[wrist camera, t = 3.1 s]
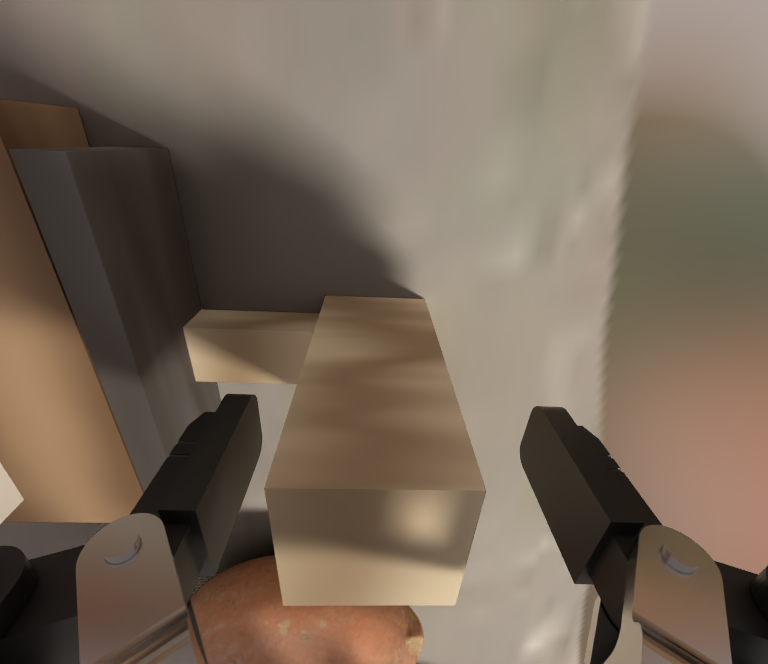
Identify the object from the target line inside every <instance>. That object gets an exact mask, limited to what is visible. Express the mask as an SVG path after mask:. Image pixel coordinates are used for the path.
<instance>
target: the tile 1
mask: <svg viewBox="0 0 768 664" xmlns="http://www.w3.org/2000/svg"><path fill="white" fill-rule="evenodd" d="M23 500H24V499H23V497H22V496H21V494H20V492H19V491H18V489H17V488H16V486H15V485H14V483H13V481H12V480H11V478H10V477H9V475H8V474H7V472H6V471H5V469H4V467H3V466H2V464H1V463H0V524H1V523H2V522H3V521H4V520H5V519H6V518H7V517H8V516H9V515H10V514H11V513H12V512H13V511H14V510H15V509H16V508H17V506H18V505H19V504H20V503H21V502H22V501H23Z"/></svg>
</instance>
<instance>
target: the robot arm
mask: <svg viewBox="0 0 768 664" xmlns="http://www.w3.org/2000/svg"><path fill="white" fill-rule="evenodd" d="M261 446H262V431H261V424H260V416H259V409H258V402H257V397H256V396H255V395H247V394H227V395H225V397H224V398H223V400H222V401H221V403H220V405H219V406H218V408H217V410H216V412H204V413H203V414H201V415H200V416H199V417H198V418H196V419H195V420H194V421H193V422H191V423H190V424H189V425H188V426H187V428H186V429H185V431H184V432H183V434H182V435H181V437H180V439H179V440H178V444H176V445H175V446H174V448H173V449H172V451H171V452H170V456H169V457H167V458H166V460H165V461H164V463H163V464H162V466H161V467H160V469H159V471H158V472H157V474H156V475H155V477H154V478H153V480H152V481H151V483H150V484H149V486H148V487H147V489H146V490H145V492H144V493H143V495H142V496H141V498H140V499H139V501H138V503H137V504H136V506H135V507H134V509H133V510H132V511H131V513H130V514H129V515H127V516H124V517H122V518H119V519H117V520H115V521H113V522H111V523H110V524H108V525H107V526H105V527H103V528H102V529H101V530H100V531H98V532H97V533H96V534H95V535H94V536H93V537H92V538H91V539H90V540H89V541H88V542H87V544H86V545H82V546H79V547H76V548H72V549H69V550H65V551H61V552H57V553H54V554H50V555H46V556H42V557H39V558H35V559H31V560H28V559H27V558H26V556H25V555H24V554H23V552H22V551H21V550H20V549H18V548H16V547H12V546H0V664H209V661H208V657H207V654H206V650H205V647H204V643H203V639H202V636H201V632H200V629H199V625H198V622H197V618H196V614H195V611H194V607H193V604H192V600H191V594H192V592H193V589H194V587H195V585H196V582H197V580H198V577H215V575H216V573H217V570H218V567H219V565H220V562H221V559H222V556H223V554H224V551H225V548H226V546H227V543H228V540H229V537H230V535H231V532H232V529H233V527H234V524H235V521H236V519H237V516H238V513H239V510H240V508H241V505H242V502H243V500H244V497H245V494H246V491H247V489H248V486H249V483H250V481H251V478H252V475H253V472H254V470H255V467H256V464H257V462H258V459H259V456H260V452H261ZM520 459H521V463H522V466H523V469H524V471H525V473H526V475H527V478H528V480H529V482H530V484H531V487H532V489H533V491H534V493H535V496H536V498H537V500H538V502H539V505H540V507H541V509H542V511H543V514H544V516H545V518H546V520H547V523H548V525H549V527H550V529H551V532H552V534H553V536H554V538H555V541H556V543H557V545H558V547H559V550H560V552H561V554H562V557H563V559H564V561H565V563H566V566H567V568H568V570H569V572H570V575H571V577H572V579H573V581H574V584H594V586H595V588H596V590H597V592H598V595H599V596H598V597H597V599H596V601H595V604H594V610H593V615H592V621H591V626H590V632H589V637H588V643H587V649H586V655H585V660H584V664H768V566H767V567H766V568H765V569H764V570H763V571H762V572H761V573H760V574H759V575H758V574H754V573H751V572H748V571H745V570H741V569H738V568H735V567H732V566H729V565H726V564H723V563H719V562H716V561H714V560H713V559H712V558H711V557H710V555H709V554H708V553H707V552H706V551H705V550H704V549H703V548H702V547H701V546H700V545H698V544H697V543H696V542H695V541H693V540H692V539H691V538H689V537H688V536H686V535H684V534H683V533H681V532H679V531H676V530H674V529H672V528H669V527H666V526H663V525H662V524H661V523H660V521H659V520H658V519H657V517H656V516H655V515H654V513H653V512H652V510H651V509H650V508H649V506H648V505H647V504H646V503H645V501H644V500H643V498H642V497H641V496H640V494H639V493H638V491H637V490H636V489H635V487H634V486H633V485H632V483H631V482H630V481H629V479H628V478H627V477H626V475H625V474H624V473H623V472H621V471H620V467H619V466H618V464H617V463H616V462H615V460H614V459H612V458H611V455H610V453H609V452H608V451H607V450H606V448H605V447H604V445H603V444H602V443H601V441H600V440H599V439H598V438H597V437H595V436H594V435H593V434H592V433H590V432H589V431H588V430H587V429H586V428H584V427H583V426H577V425H576V423H575V422H574V420H573V419H572V418H571V416H570V415H569V413H568V412H567V411H566V409H564V408H563V407H543V406H536V407H534V408H533V410H532V412H531V415H530V418H529V421H528V424H527V427H526V430H525V433H524V436H523V439H522V442H521V445H520Z"/></svg>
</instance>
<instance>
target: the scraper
mask: <svg viewBox="0 0 768 664" xmlns="http://www.w3.org/2000/svg"><path fill="white" fill-rule="evenodd" d="M9 151H10V154H11V157H12V159H13V162H14V164H15V167H16V169H17V172H18V174H19V177H20V179H21V182H22V184H23V187H24V189H25V192H26V194H27V197H28V199H29V202H30V204H31V207H32V210H33V212H34V215H35V217H36V220H37V222H38V225H39V227H40V230H41V232H42V235H43V237H44V240H45V242H46V245H47V247H48V250H49V252H50V255H51V258H52V260H53V263H54V265H55V268H56V270H57V273H58V275H59V278H60V280H61V283H62V285H63V288H64V290H65V293H66V295H67V298H68V300H69V303H70V305H71V308H72V311H73V313H74V316H75V318H76V321H77V323H78V326H79V328H80V331H81V333H82V336H83V338H84V341H85V343H86V346H87V348H88V351H89V353H90V356H91V359H92V361H93V364H94V366H95V369H96V371H97V374H98V376H99V379H100V381H101V384H102V386H103V389H104V391H105V394H106V396H107V399H108V401H109V404H110V406H111V409H112V412H113V414H114V417H115V419H116V422H117V424H118V427H119V429H120V432H121V434H122V437H123V439H124V442H125V444H126V447H127V449H128V452H129V454H130V457H131V460H132V462H133V465H134V467H135V470H136V472H137V475H138V477H139V480H140V482H141V485H142V487H143V490H144V492H145V490H146V489H147V487H148V486H149V484H150V483H151V481H152V480H153V478H154V477H155V475H156V474H157V472H158V471H159V469H160V467H161V466H162V464H163V463H164V461H165V460H166V458H167V457H169V456H170V452H171V451H172V449H173V448H174V446H175V445H176V444H178V440H179V439H180V437H181V435H182V434H183V432H184V431H185V429H186V428H187V426H188V425H189V424H190V423H191V422H193V421H194V420H195V419H196V418H198V417H199V416H200V415H201V414H203V413H204V412H216V410H217V408H218V406H219V405H220V403H221V400H220V395H219V390H218V386H217V382H240V383H280V384H297V387H296V390H295V393H294V396H293V399H292V402H291V406H290V409H289V412H288V415H287V418H286V421H285V424H284V428H283V431H282V434H281V437H280V440H279V443H278V447H277V450H276V453H275V456H274V459H273V462H272V465H271V469H270V472H269V475H268V478H267V481H266V484H265V488H264V489H265V495H266V502H267V508H268V514H269V520H270V526H271V533H272V539H273V545H274V551H275V558H276V564H277V570H278V576H279V582H280V589H281V595H282V601H283V606H376V605H455V604H456V601H457V597H458V593H459V589H460V586H461V582H462V578H463V575H464V571H465V567H466V564H467V560H468V556H469V553H470V549H471V545H472V541H473V538H474V534H475V530H476V527H477V523H478V519H479V516H480V512H481V508H482V505H483V501H484V497H485V493H486V488H485V485H484V482H483V479H482V476H481V473H480V470H479V467H478V463H477V460H476V457H475V454H474V451H473V448H472V445H471V442H470V438H469V435H468V432H467V429H466V426H465V423H464V420H463V417H462V414H461V410H460V407H459V404H458V401H457V398H456V395H455V392H454V389H453V385H452V382H451V379H450V376H449V373H448V370H447V367H446V364H445V361H444V357H443V354H442V351H441V348H440V345H439V342H438V339H437V336H436V332H435V329H434V326H433V323H432V320H431V317H430V314H429V311H428V307H427V304H426V301H425V299H411V298H383V297H354V296H326V295H325V298H324V301H323V305H322V308H321V311H320V313H293V312H263V311H233V310H203V309H201V305H200V300H199V295H198V290H197V286H196V281H195V276H194V271H193V266H192V262H191V257H190V252H189V247H188V243H187V238H186V233H185V228H184V224H183V219H182V214H181V209H180V204H179V200H178V195H177V190H176V185H175V181H174V176H173V171H172V166H171V162H170V157H169V152H168V148H153V147H134V146H121V147H72V148H24V149H9Z"/></svg>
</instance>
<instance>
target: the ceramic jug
mask: <svg viewBox="0 0 768 664" xmlns="http://www.w3.org/2000/svg"><path fill="white" fill-rule="evenodd" d="M191 600H192V604H193V607H194V611H195V614H196V618H197V622H198V625H199V629H200V632H201V636H202V639H203V643H204V647H205V650H206V654H207V657H208V661H209V664H416V662H417V655H418V654H419V653H420V652H421V650H422V645H423V639H424V635H423V629H422V626H421V623H420V621H419V619H418V617H417V616H416V614H415V613H414V612H413V610H412V609H411V608H410V607H409V605H376V606H283V601H282V595H281V589H280V582H279V576H278V570H277V564H276V558H275V555H270V556H265V557H260V558H255V559H251V560H248V561H245V562H242V563H240V564H237V565H235V566H232V567H230V568H228V569H226V570H224V571H222V572H220V573H219V574H217V575H215V577H212V578H211V579H210V580H208V581H207V582H206V583H205V584H203V585H202V586H201V587H200V588H199V589H198V590H197V591H196V592H195V593H194V595H193V596H192V597H191Z"/></svg>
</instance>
